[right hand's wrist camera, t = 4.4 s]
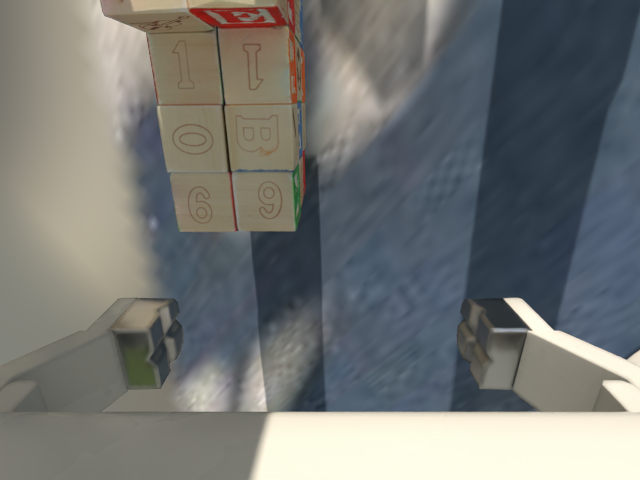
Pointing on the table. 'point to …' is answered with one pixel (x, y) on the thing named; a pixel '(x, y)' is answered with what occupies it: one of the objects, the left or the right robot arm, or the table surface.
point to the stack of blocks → (228, 107)
